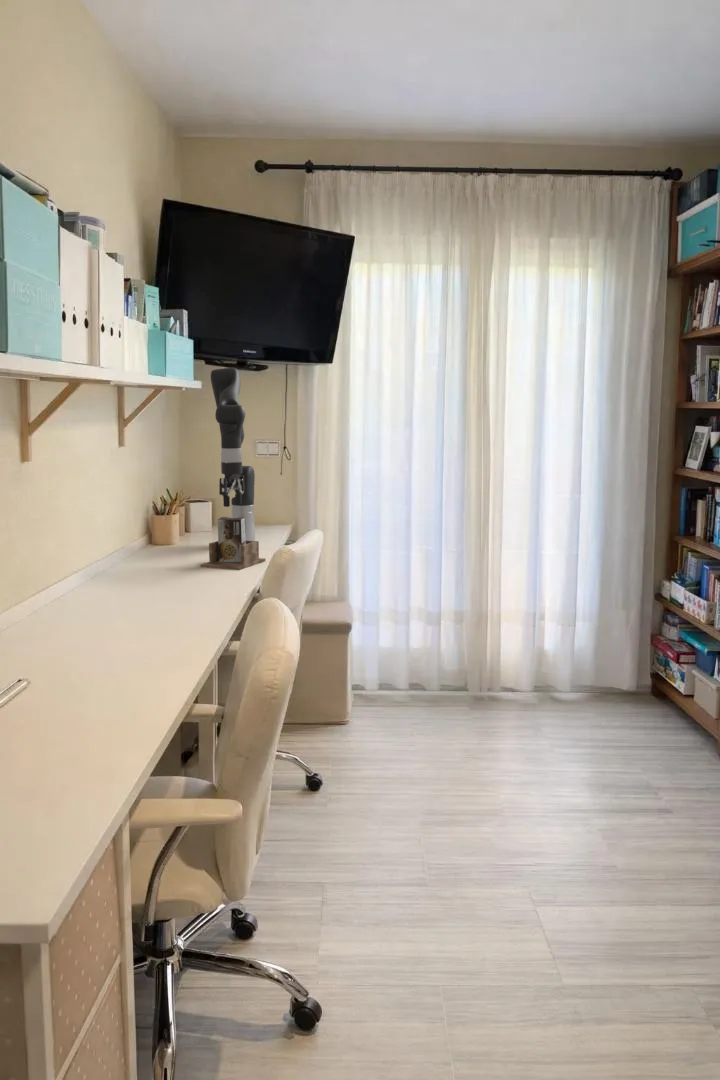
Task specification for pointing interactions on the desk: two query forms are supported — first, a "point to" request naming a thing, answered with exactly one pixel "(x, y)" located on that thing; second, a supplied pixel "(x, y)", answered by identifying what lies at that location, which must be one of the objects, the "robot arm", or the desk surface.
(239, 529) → the coffee box
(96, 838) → the desk surface
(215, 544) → the holder
